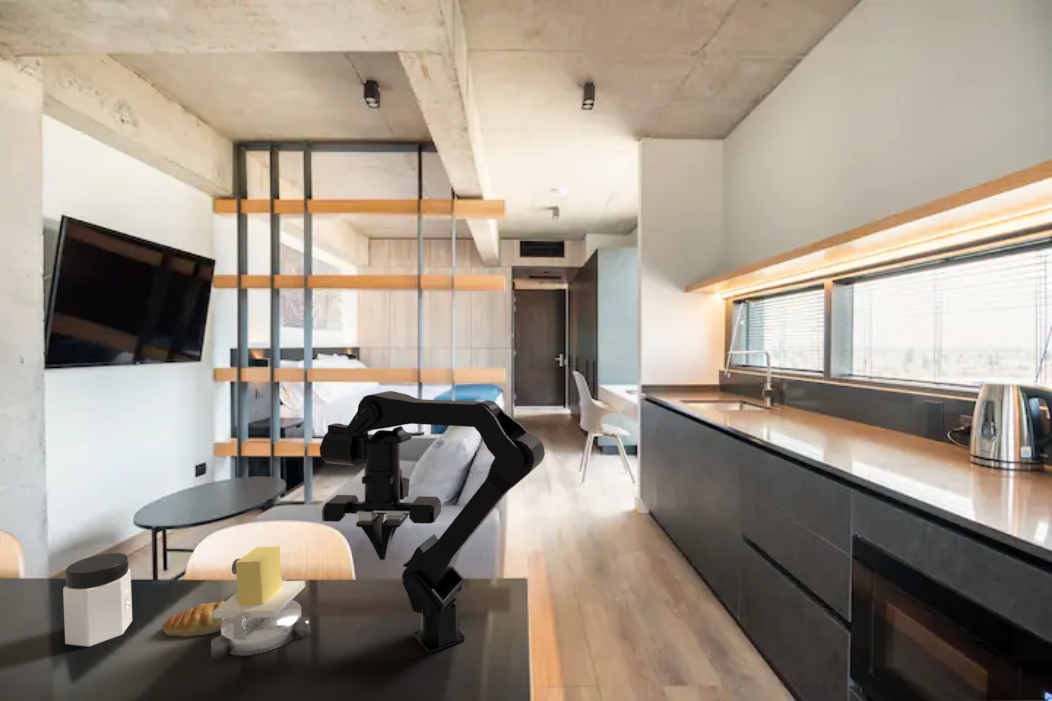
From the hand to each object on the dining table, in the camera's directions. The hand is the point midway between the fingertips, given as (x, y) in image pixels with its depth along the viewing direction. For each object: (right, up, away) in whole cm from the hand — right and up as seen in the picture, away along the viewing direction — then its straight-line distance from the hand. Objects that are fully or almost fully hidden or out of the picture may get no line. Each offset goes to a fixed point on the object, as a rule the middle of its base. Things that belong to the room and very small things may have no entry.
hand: (383, 558), depth 89 cm
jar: (-48, -13, 0) cm, 49 cm away
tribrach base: (-20, -12, -1) cm, 23 cm away
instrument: (-20, -7, -1) cm, 21 cm away
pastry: (-32, -13, +1) cm, 34 cm away
